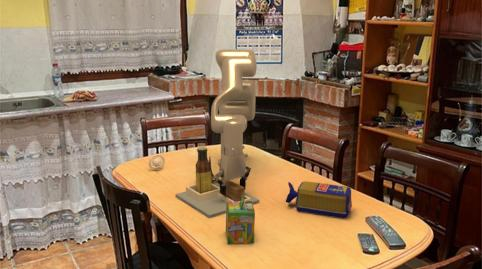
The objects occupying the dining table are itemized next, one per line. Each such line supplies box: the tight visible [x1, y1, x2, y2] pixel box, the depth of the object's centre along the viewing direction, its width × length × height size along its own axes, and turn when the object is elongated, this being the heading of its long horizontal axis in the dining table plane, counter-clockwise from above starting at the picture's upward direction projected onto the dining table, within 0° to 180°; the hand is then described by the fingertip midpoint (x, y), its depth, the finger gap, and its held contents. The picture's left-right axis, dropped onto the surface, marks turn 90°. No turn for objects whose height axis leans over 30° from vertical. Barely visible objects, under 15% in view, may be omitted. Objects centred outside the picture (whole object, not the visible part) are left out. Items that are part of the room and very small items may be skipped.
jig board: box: [175, 183, 260, 219], centre depth 187 cm, size 24×25×4 cm
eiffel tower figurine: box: [208, 155, 224, 184], centre depth 206 cm, size 15×10×13 cm
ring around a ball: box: [148, 153, 166, 171], centre depth 220 cm, size 8×6×8 cm
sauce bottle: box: [195, 146, 212, 194], centre depth 187 cm, size 7×6×20 cm
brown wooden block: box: [225, 180, 246, 202], centre depth 185 cm, size 4×10×6 cm, turn 37°
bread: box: [285, 181, 353, 219], centre depth 178 cm, size 10×25×10 cm, turn 69°
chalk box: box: [225, 195, 256, 245], centre depth 155 cm, size 9×9×15 cm
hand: (233, 191), depth 185 cm, fingers open, 9 cm apart
